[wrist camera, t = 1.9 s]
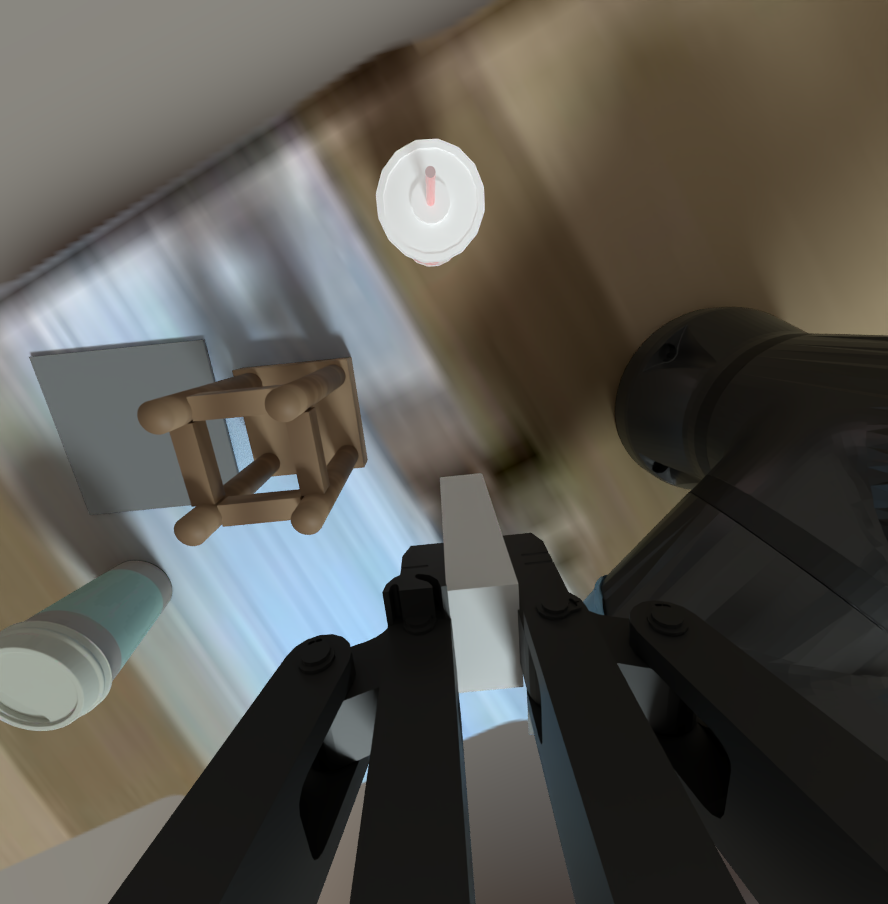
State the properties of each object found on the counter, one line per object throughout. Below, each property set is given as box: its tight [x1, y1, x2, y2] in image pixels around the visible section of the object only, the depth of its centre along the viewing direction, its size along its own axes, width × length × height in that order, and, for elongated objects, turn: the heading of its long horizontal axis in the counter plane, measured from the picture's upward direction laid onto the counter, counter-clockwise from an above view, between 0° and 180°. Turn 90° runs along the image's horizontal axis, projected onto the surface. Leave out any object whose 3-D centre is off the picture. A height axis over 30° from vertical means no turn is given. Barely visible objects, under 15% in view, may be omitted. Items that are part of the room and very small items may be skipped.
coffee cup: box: [0, 560, 172, 731], centre depth 35 cm, size 8×8×12 cm
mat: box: [29, 340, 239, 515], centre depth 36 cm, size 14×14×1 cm
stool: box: [137, 357, 368, 546], centre depth 29 cm, size 9×9×14 cm
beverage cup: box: [376, 139, 485, 267], centre depth 25 cm, size 6×6×14 cm
